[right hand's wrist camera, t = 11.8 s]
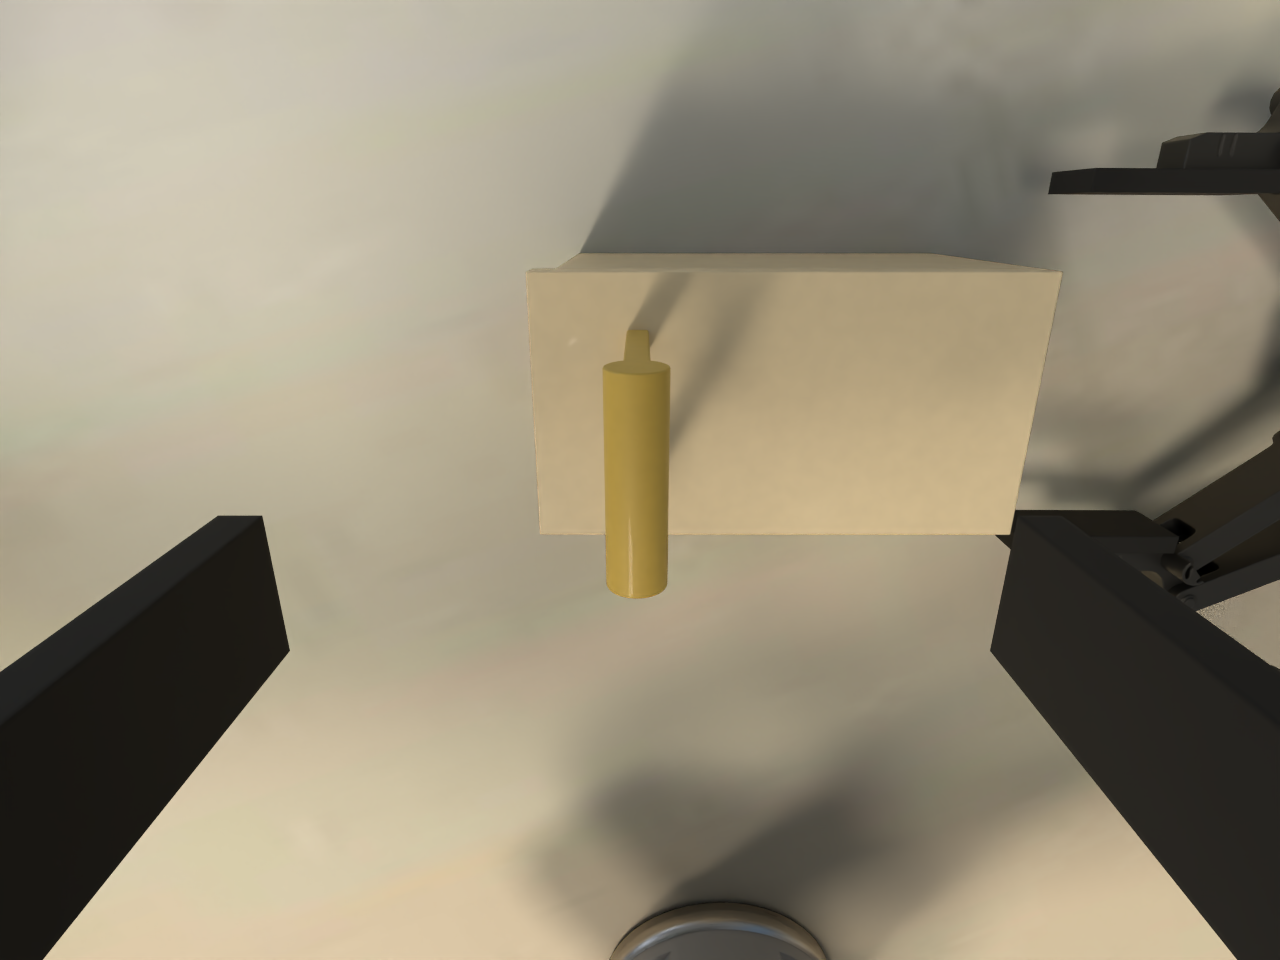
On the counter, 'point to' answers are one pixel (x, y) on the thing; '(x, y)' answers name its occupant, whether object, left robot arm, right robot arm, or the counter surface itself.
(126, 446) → the counter surface
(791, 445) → the lid
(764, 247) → the counter surface
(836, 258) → the chest
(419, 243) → the counter surface
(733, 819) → the counter surface
